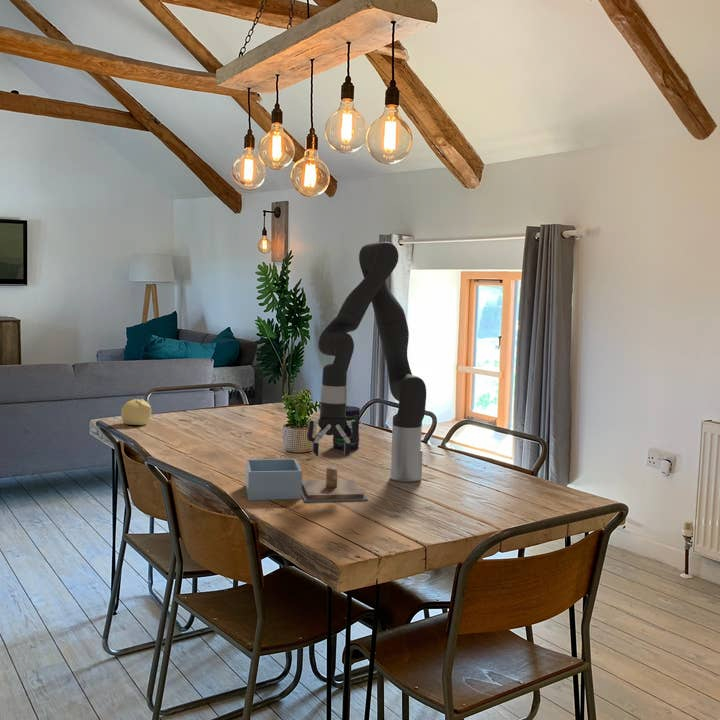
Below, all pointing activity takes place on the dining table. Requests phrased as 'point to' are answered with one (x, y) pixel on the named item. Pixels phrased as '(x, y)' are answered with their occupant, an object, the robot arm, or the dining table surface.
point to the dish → (273, 479)
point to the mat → (332, 499)
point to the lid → (331, 487)
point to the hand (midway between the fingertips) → (330, 455)
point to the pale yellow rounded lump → (136, 412)
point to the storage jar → (348, 430)
